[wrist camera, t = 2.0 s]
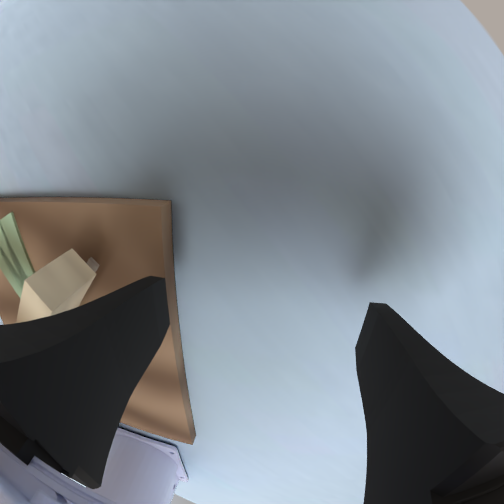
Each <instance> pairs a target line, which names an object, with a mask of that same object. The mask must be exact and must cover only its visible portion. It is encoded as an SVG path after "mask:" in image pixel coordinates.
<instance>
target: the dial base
mask: <svg viewBox="0 0 504 504" xmlns="http://www.w3.org/2000/svg"><path fill="white" fill-rule="evenodd" d="M70 249H73V250H74V251H75V252H76V253H77V254H78V255H79V256H80V257H81V258H82V259H83V260H84V261H85V263H86V264H87V265H88V266H89V267H90V268H91V269H92V270H93V271H94V272H95V273H96V276H95V278H94V279H93V281H92V283H91V285H90V286H89V288H88V290H87V292H86V294H85V296H84V297H83V299H82V301H81V303H80V305H79V306H81V305H84V304H86V303H88V302H91V301H93V300H95V299H98V298H100V297H102V296H105V295H107V294H109V293H111V292H113V291H115V290H118V289H120V288H122V287H124V286H126V285H128V284H131V283H133V282H135V281H137V280H140V279H142V278H145V277H148V276H156V277H162V278H165V281H166V291H167V301H168V309H169V318H170V325H169V328H168V330H167V333H166V335H165V337H164V340H163V342H162V344H161V346H160V348H159V350H158V351H157V353H156V355H155V356H154V358H153V360H152V361H151V363H150V364H149V366H148V368H147V369H146V371H145V373H144V374H143V376H142V378H141V379H140V381H139V383H138V384H137V386H136V388H135V389H134V391H133V393H132V395H131V397H130V399H129V401H128V403H127V406H126V408H125V410H124V413H123V415H122V418H121V420H120V422H121V423H124V424H126V425H129V426H132V427H135V428H137V429H140V430H143V431H146V432H149V433H152V434H156V435H159V436H162V437H165V438H169V439H172V440H176V441H180V442H183V443H187V444H191V445H193V442H194V439H195V436H196V433H195V428H194V423H193V417H192V412H191V406H190V400H189V394H188V388H187V381H186V375H185V368H184V361H183V353H182V345H181V337H180V328H179V319H178V309H177V299H176V287H175V274H174V259H173V242H172V218H171V201H170V200H151V199H127V198H94V197H13V198H0V316H1V319H2V321H3V323H4V325H5V324H14V323H16V322H17V315H18V310H19V304H20V299H21V294H22V290H23V285H24V281H25V279H27V278H28V277H30V276H31V275H32V274H34V273H35V272H37V271H38V270H40V269H41V268H43V267H44V266H46V265H47V264H49V263H50V262H52V261H53V260H55V259H56V258H58V257H59V256H61V255H62V254H64V253H65V252H67V251H69V250H70Z"/></svg>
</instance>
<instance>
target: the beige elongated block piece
mask: <svg viewBox="0 0 504 504" xmlns="http://www.w3.org/2000/svg"><path fill="white" fill-rule="evenodd" d="M95 276H96V273H95V272H94V271H93V270H92V269H91V268H90V267H89V266H88V265H87V264H86V263H85V261H84V260H83V259H82V258H81V257H80V256H79V255H78V254H77V253H76V252H75V251H74V250H73V249H70V250H69V251H67V252H65V253H64V254H62V255H61V256H59V257H58V258H56V259H55V260H53V261H52V262H50V263H49V264H47V265H46V266H44V267H43V268H41V269H40V270H38V271H37V272H35V273H34V274H32V275H31V276H30V277H28V278H27V279H25V281H24V285H23V290H22V294H21V299H20V304H19V310H18V315H17V322H16V323H20V322H26V321H31V320H35V319H39V318H43V317H48V316H52V315H55V314H58V313H61V312H64V311H68V310H70V309H73V308H76V307H79V305H80V303H81V301H82V299H83V297H84V296H85V294H86V292H87V290H88V288H89V286H90V285H91V283H92V281H93V279H94V278H95Z"/></svg>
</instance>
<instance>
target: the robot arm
mask: <svg viewBox="0 0 504 504" xmlns="http://www.w3.org/2000/svg"><path fill="white" fill-rule="evenodd" d="M169 325H170V318H169V309H168V301H167V291H166V281H165V278H162V277H156V276H148V277H145V278H142V279H140V280H137V281H135V282H133V283H131V284H128V285H126V286H124V287H122V288H120V289H118V290H115V291H113V292H111V293H109V294H107V295H105V296H102V297H100V298H98V299H95V300H93V301H91V302H88V303H86V304H84V305H81V306H79V307H76V308H73V309H70V310H68V311H64V312H61V313H58V314H55V315H52V316H48V317H43V318H39V319H35V320H31V321H26V322H20V323H14V324H5V325H0V504H171V500H172V498H173V496H174V493H175V490H176V487H177V484H178V482H179V480H180V481H184V482H188V477H187V474H186V472H185V469H184V467H183V464H182V461H181V458H180V456H179V453H178V450H177V448H176V447H174V446H172V445H168V444H165V443H162V442H158V441H155V440H152V439H149V438H146V437H143V436H140V435H137V434H135V433H132V432H129V431H126V430H124V429H121V428H119V427H118V425H119V423H120V420H121V418H122V415H123V413H124V410H125V408H126V406H127V403H128V401H129V399H130V397H131V395H132V393H133V391H134V389H135V388H136V386H137V384H138V383H139V381H140V379H141V378H142V376H143V374H144V373H145V371H146V369H147V368H148V366H149V364H150V363H151V361H152V360H153V358H154V356H155V355H156V353H157V351H158V350H159V348H160V346H161V344H162V342H163V340H164V337H165V335H166V333H167V330H168V328H169ZM355 350H356V367H357V376H358V381H359V387H360V392H361V397H362V403H363V409H364V415H365V421H366V429H367V474H366V487H365V496H364V504H504V394H503V393H501V392H499V391H497V390H495V389H493V388H491V387H489V386H487V385H486V384H484V383H482V382H481V381H479V380H477V379H476V378H474V377H472V376H471V375H469V374H468V373H466V372H465V371H464V370H462V369H461V368H459V367H458V366H457V365H455V364H454V363H453V362H451V361H450V360H449V359H447V358H446V357H445V356H444V355H442V354H441V353H440V352H439V351H438V350H437V349H435V348H434V347H433V346H432V345H431V344H430V343H429V342H427V341H426V340H425V339H424V338H423V337H422V336H421V335H420V334H419V333H418V332H417V331H416V330H414V329H413V328H412V327H411V326H410V325H409V324H408V323H407V322H406V321H405V320H404V319H403V318H402V317H401V316H400V315H399V314H398V313H396V312H395V311H394V310H393V309H392V308H391V307H390V306H388V305H387V304H384V303H371V302H370V304H369V307H368V310H367V314H366V317H365V320H364V323H363V326H362V329H361V332H360V335H359V338H358V341H357V344H356V347H355ZM61 473H63V474H64V475H63V474H61ZM65 475H66V476H68V477H69V478H68V477H66V476H65ZM70 478H72V479H74V480H76V481H77V482H79V483H81V484H83V485H85V486H86V487H84V486H82V485H80V484H78V483H76V482H75V481H73V480H71V479H70Z"/></svg>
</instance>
